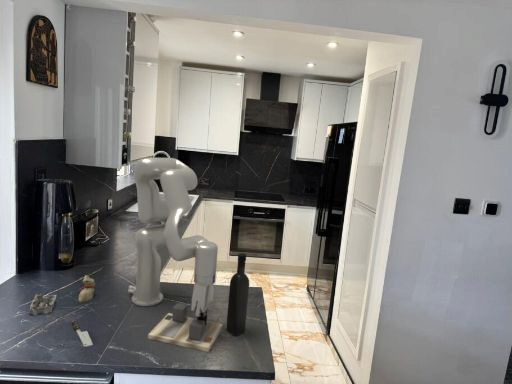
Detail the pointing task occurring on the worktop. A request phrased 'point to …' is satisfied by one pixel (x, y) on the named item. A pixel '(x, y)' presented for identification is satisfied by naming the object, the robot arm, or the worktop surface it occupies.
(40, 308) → the egg carton
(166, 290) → the worktop surface
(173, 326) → the switch panel
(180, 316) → the dark grey block
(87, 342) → the cleaver
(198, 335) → the right tab
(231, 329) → the wine bottle
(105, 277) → the worktop surface
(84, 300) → the cream animal figurine
